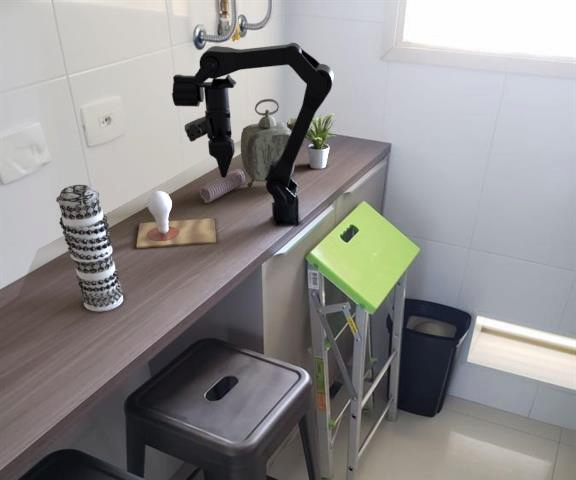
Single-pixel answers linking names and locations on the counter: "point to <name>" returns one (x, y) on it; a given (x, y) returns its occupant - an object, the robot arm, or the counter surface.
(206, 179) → the counter surface
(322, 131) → the house plant
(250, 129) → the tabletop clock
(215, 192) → the coil
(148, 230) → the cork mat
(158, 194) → the lightbulb
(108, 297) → the white patterned tall cylinder
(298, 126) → the robot arm
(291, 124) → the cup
